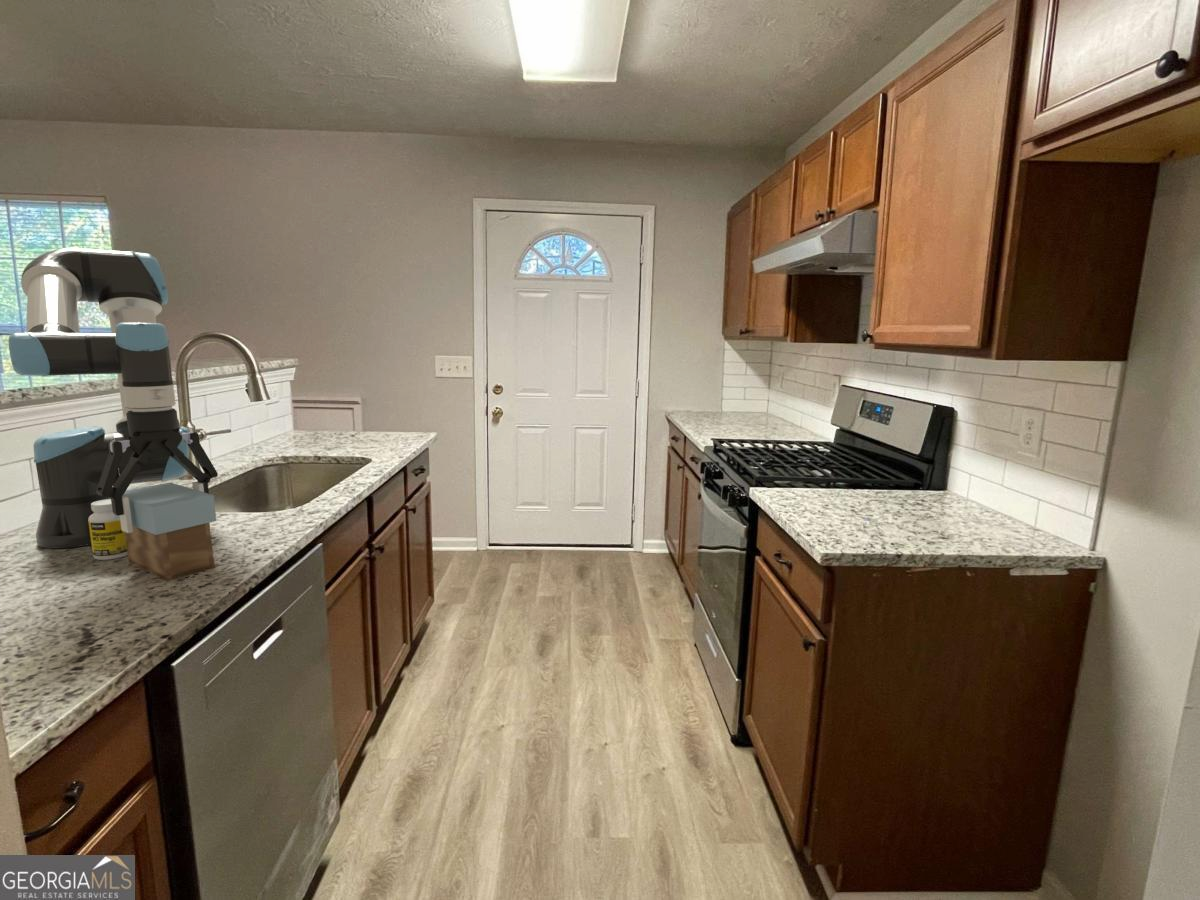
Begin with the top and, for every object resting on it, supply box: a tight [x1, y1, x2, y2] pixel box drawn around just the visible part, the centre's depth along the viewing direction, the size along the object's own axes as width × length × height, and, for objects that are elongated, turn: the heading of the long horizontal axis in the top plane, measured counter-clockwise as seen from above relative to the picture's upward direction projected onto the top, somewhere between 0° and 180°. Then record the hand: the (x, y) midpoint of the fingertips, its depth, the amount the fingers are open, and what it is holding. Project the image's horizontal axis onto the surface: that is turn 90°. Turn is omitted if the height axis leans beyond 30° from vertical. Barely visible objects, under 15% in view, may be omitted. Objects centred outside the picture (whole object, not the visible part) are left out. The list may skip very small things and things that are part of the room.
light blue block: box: [115, 482, 217, 535], centre depth 116 cm, size 17×10×6 cm, turn 57°
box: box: [125, 522, 215, 582], centre depth 117 cm, size 16×8×9 cm, turn 57°
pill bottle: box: [88, 499, 128, 561], centre depth 122 cm, size 6×6×11 cm
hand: (165, 522), depth 116 cm, fingers open, 12 cm apart
